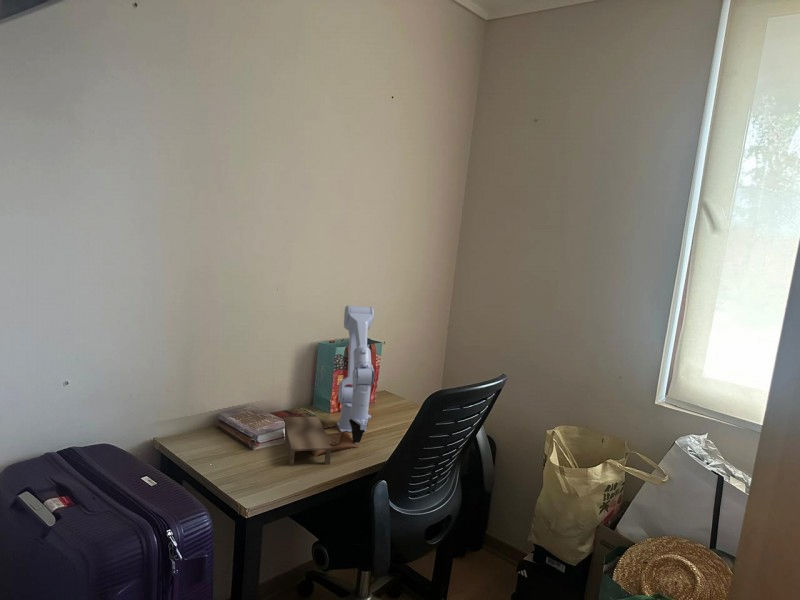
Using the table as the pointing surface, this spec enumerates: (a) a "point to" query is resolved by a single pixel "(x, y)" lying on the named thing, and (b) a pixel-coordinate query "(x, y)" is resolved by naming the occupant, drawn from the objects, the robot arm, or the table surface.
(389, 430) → the table surface
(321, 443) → the miniature wooden table
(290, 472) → the table surface
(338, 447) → the sunglasses case
